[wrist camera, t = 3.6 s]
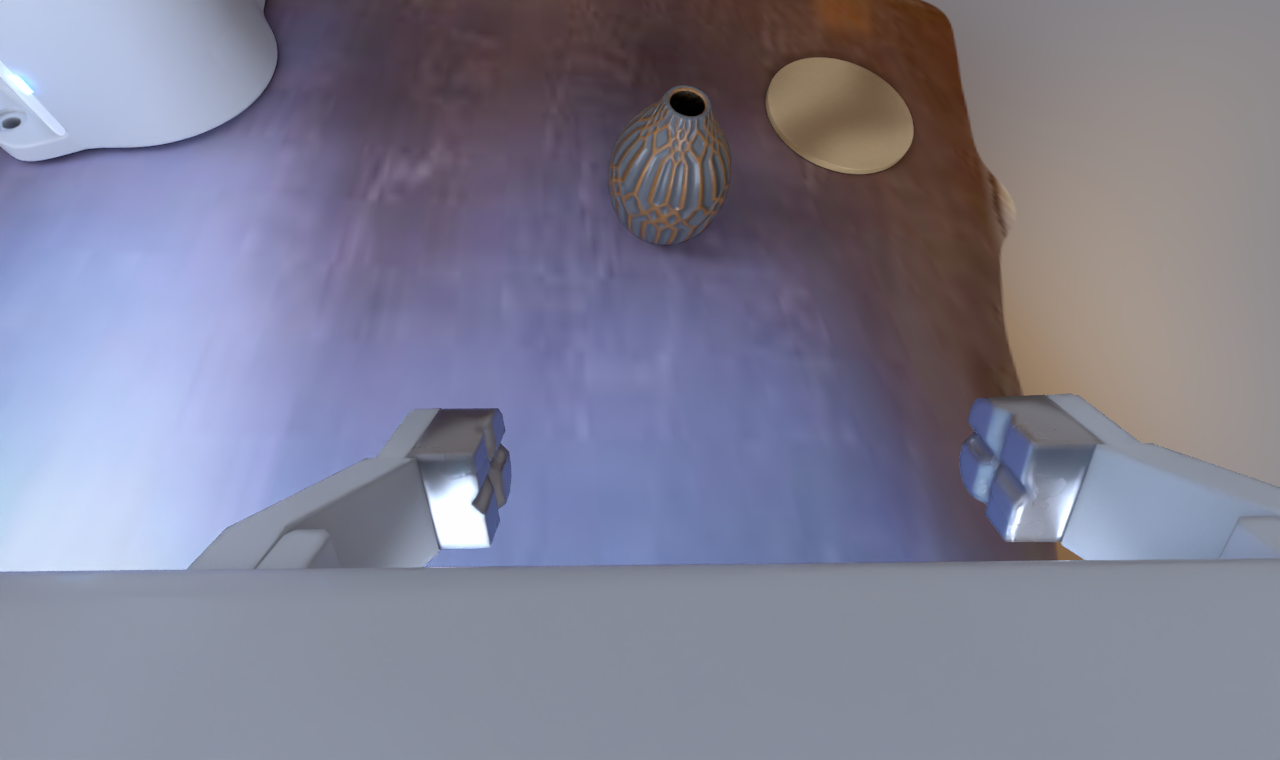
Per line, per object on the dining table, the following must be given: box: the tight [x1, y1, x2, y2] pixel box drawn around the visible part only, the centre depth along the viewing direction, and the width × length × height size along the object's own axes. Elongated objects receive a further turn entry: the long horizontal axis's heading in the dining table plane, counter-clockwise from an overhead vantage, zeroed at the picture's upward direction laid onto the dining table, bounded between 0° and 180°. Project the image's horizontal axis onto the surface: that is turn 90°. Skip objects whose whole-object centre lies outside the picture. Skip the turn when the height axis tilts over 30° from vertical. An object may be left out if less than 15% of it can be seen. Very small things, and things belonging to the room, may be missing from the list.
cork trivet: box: [766, 57, 914, 174], centre depth 44 cm, size 11×11×1 cm
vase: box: [608, 85, 731, 245], centre depth 34 cm, size 7×7×9 cm
